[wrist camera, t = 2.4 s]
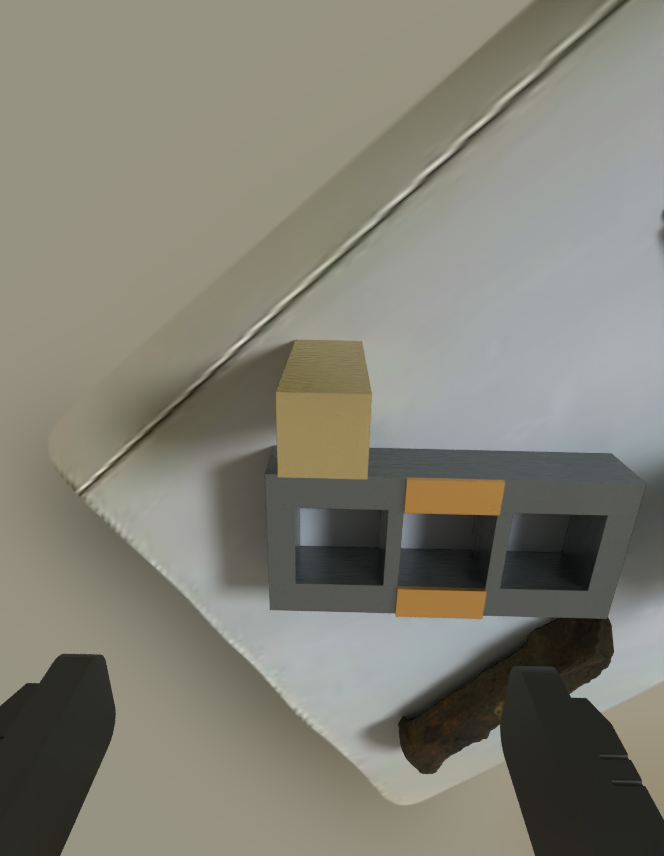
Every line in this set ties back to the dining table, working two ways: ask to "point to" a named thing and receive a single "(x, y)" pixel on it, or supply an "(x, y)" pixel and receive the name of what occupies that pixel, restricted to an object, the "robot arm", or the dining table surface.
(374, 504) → the grey slotted holder
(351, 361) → the post
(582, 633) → the dark brown rough bar
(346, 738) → the dining table surface
